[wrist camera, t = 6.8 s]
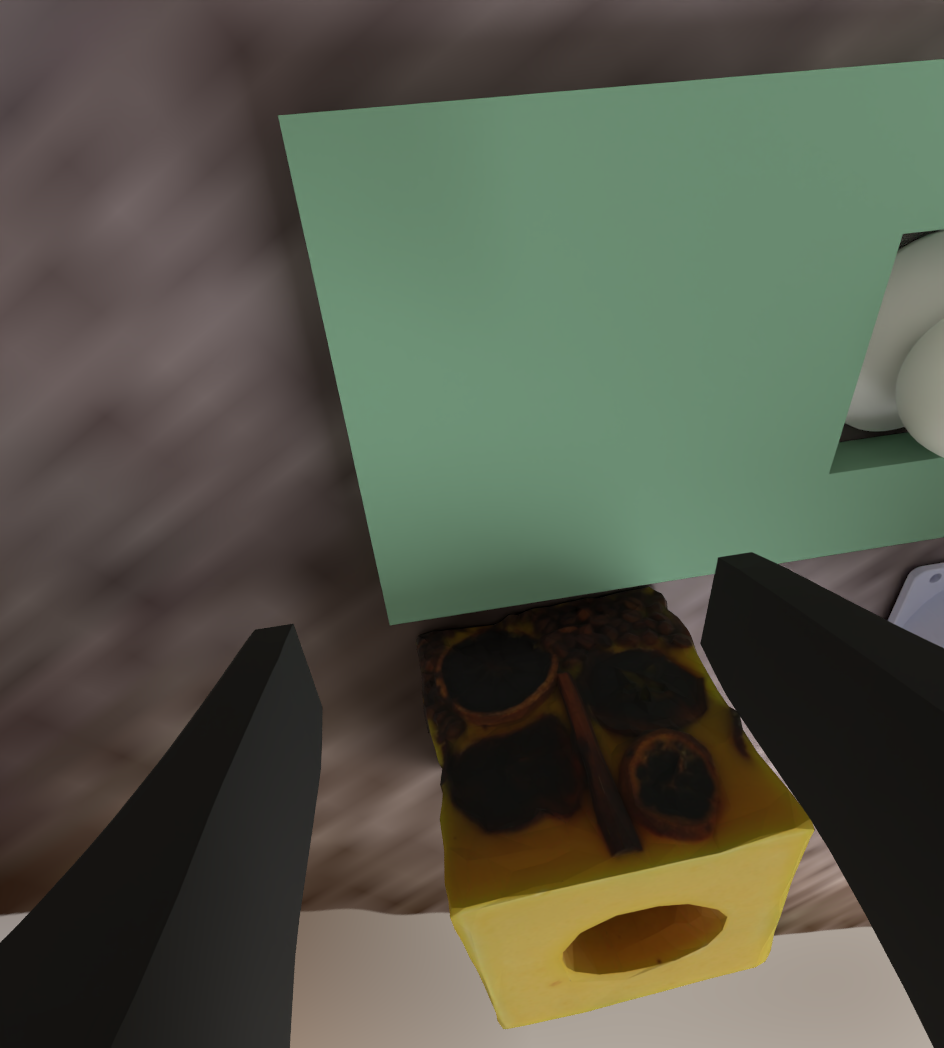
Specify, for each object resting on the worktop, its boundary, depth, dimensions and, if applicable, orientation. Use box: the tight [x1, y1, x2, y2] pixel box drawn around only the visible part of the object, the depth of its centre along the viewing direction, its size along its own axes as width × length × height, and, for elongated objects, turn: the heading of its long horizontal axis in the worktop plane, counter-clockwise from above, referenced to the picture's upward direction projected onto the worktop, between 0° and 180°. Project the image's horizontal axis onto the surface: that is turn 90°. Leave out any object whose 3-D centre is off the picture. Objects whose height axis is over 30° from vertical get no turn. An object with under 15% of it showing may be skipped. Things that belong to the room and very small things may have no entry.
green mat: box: [278, 59, 944, 625], centre depth 17 cm, size 24×14×2 cm, turn 94°
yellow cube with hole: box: [416, 587, 815, 1029], centre depth 20 cm, size 10×10×10 cm
